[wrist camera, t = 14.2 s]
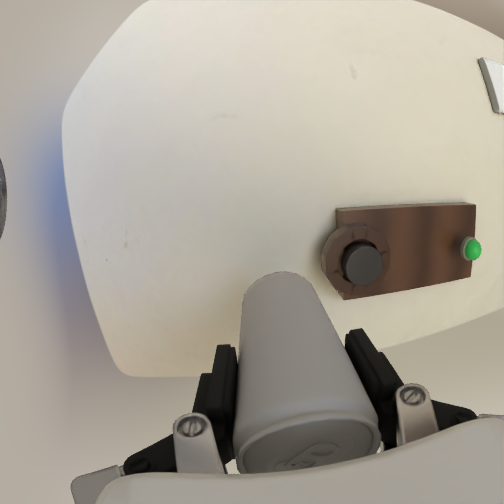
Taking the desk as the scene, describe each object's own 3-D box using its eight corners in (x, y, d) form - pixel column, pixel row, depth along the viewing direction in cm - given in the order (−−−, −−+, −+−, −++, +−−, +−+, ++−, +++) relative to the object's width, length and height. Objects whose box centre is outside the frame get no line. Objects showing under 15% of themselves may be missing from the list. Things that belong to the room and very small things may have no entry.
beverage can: (228, 310, 18) (202, 470, 7) (272, 252, 17) (307, 390, 6) (285, 345, 19) (311, 498, 7) (330, 294, 18) (411, 433, 6)
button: (340, 281, 25) (345, 288, 23) (339, 243, 24) (346, 248, 22) (374, 276, 25) (382, 283, 23) (375, 240, 24) (383, 244, 22)
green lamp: (458, 259, 24) (469, 265, 22) (459, 236, 24) (472, 241, 22) (472, 257, 24) (484, 262, 22) (474, 234, 24) (486, 239, 22)
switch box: (317, 294, 29) (326, 311, 25) (314, 210, 27) (323, 215, 23) (460, 271, 29) (478, 281, 25) (465, 202, 26) (485, 206, 23)
